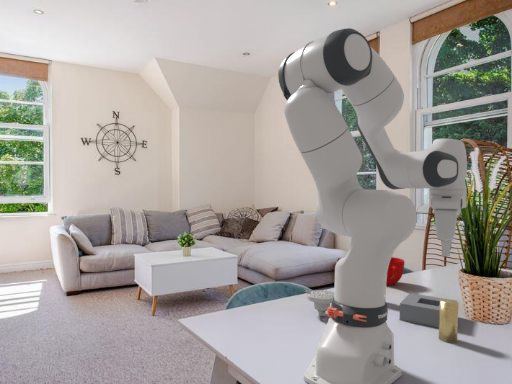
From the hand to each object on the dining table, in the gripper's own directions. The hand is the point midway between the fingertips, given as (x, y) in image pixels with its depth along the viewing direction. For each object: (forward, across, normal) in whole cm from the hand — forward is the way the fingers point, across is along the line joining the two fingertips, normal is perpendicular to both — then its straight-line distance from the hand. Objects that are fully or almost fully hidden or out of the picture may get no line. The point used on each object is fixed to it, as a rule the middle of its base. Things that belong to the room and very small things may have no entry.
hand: (446, 252), depth 103 cm
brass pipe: (+23, +1, +1) cm, 23 cm away
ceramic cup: (+24, -50, -23) cm, 60 cm away
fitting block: (+23, -14, -5) cm, 27 cm away
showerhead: (+22, +1, -34) cm, 41 cm away
